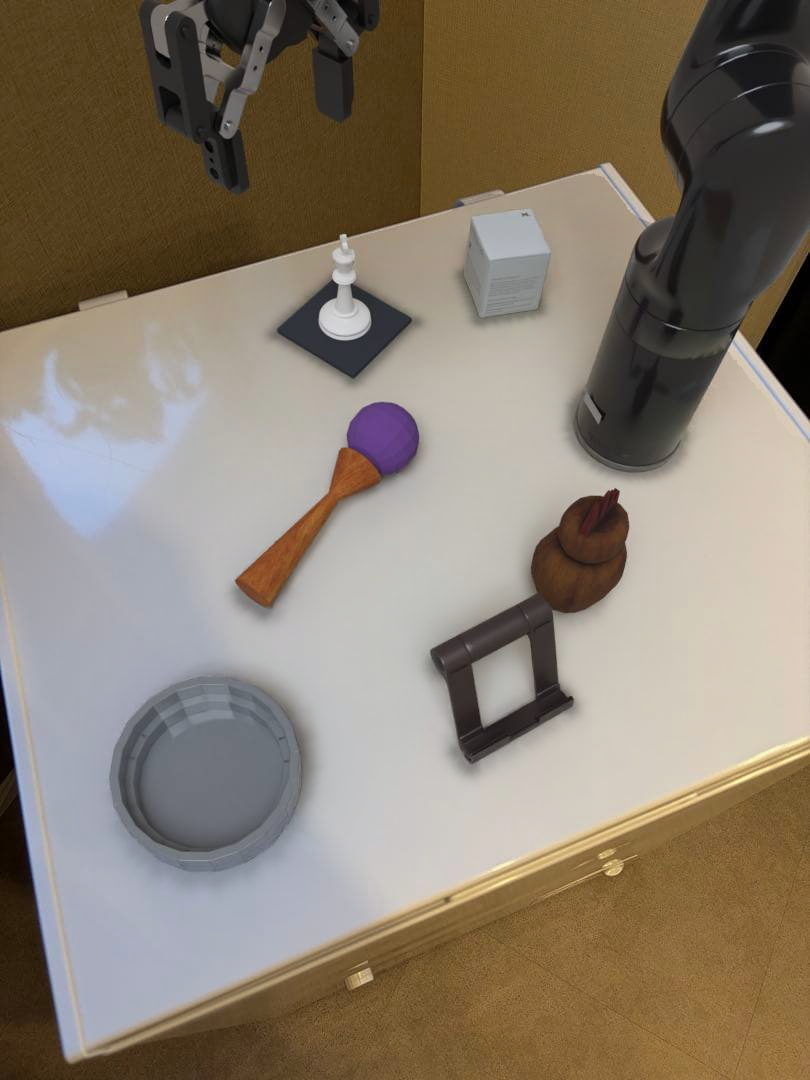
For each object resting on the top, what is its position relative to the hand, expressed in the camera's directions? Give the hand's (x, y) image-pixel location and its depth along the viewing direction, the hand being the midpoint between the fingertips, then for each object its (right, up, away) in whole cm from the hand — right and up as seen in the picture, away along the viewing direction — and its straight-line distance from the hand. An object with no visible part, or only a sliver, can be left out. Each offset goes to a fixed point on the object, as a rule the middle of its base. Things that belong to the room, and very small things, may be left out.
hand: (285, 149), depth 51 cm
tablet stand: (+13, -34, +15) cm, 39 cm away
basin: (-6, -39, +11) cm, 41 cm away
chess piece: (+1, -2, +32) cm, 33 cm away
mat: (+1, -2, +33) cm, 33 cm away
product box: (+16, +2, +36) cm, 39 cm away
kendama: (+1, -20, +22) cm, 30 cm away
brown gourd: (+20, -26, +20) cm, 38 cm away
